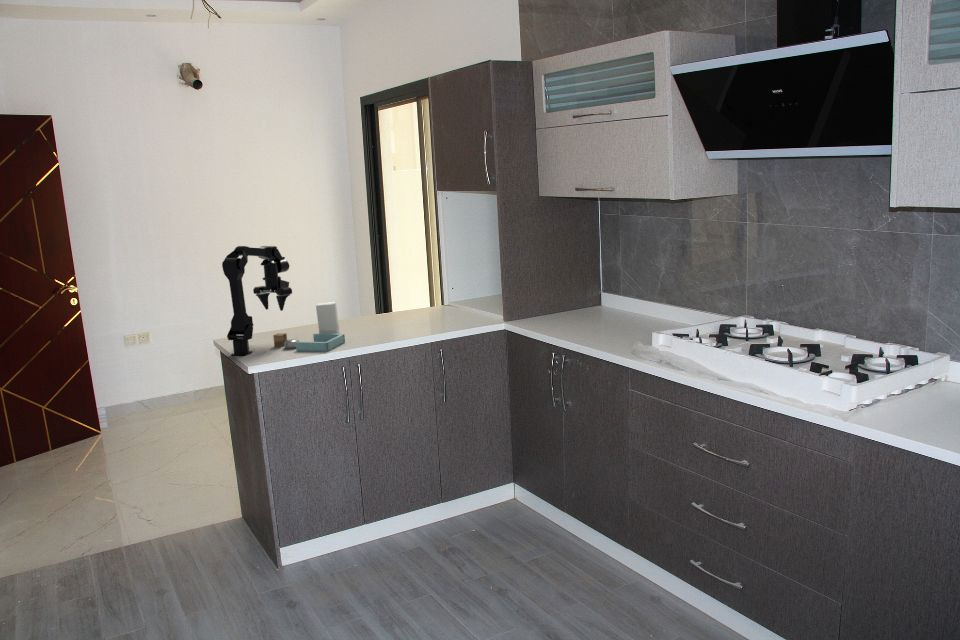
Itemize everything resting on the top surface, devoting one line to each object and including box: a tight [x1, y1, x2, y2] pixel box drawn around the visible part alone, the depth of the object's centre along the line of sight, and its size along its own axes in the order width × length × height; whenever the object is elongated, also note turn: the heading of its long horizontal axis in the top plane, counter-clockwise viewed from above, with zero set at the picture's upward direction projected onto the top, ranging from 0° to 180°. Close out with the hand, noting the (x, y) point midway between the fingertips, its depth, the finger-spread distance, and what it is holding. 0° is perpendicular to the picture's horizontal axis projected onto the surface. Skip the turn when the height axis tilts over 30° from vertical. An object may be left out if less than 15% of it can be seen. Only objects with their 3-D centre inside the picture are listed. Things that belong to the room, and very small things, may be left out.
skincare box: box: [315, 301, 341, 334], centre depth 351 cm, size 8×7×16 cm
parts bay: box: [295, 333, 346, 352], centre depth 336 cm, size 16×14×4 cm
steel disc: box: [284, 338, 300, 350], centre depth 336 cm, size 6×6×3 cm
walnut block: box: [272, 332, 288, 348], centre depth 341 cm, size 4×4×5 cm
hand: (274, 310), depth 350 cm, fingers open, 9 cm apart
